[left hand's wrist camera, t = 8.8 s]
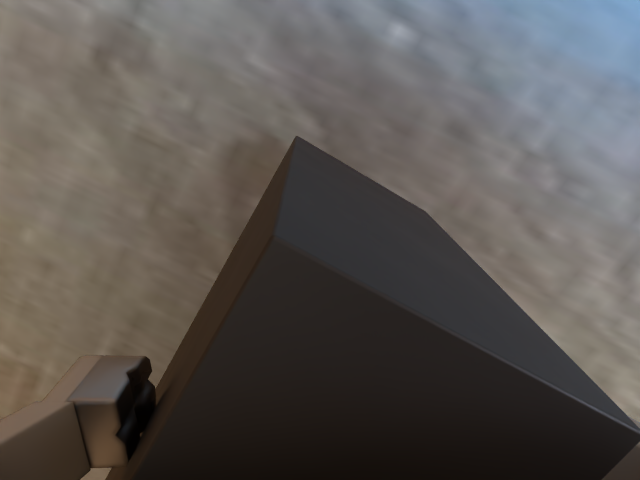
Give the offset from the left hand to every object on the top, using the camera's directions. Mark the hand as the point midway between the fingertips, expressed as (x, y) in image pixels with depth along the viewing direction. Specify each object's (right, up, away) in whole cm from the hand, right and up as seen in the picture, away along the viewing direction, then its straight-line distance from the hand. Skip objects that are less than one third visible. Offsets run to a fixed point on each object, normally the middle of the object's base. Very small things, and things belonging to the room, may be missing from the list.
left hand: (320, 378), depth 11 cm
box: (-4, -4, +10) cm, 12 cm away
